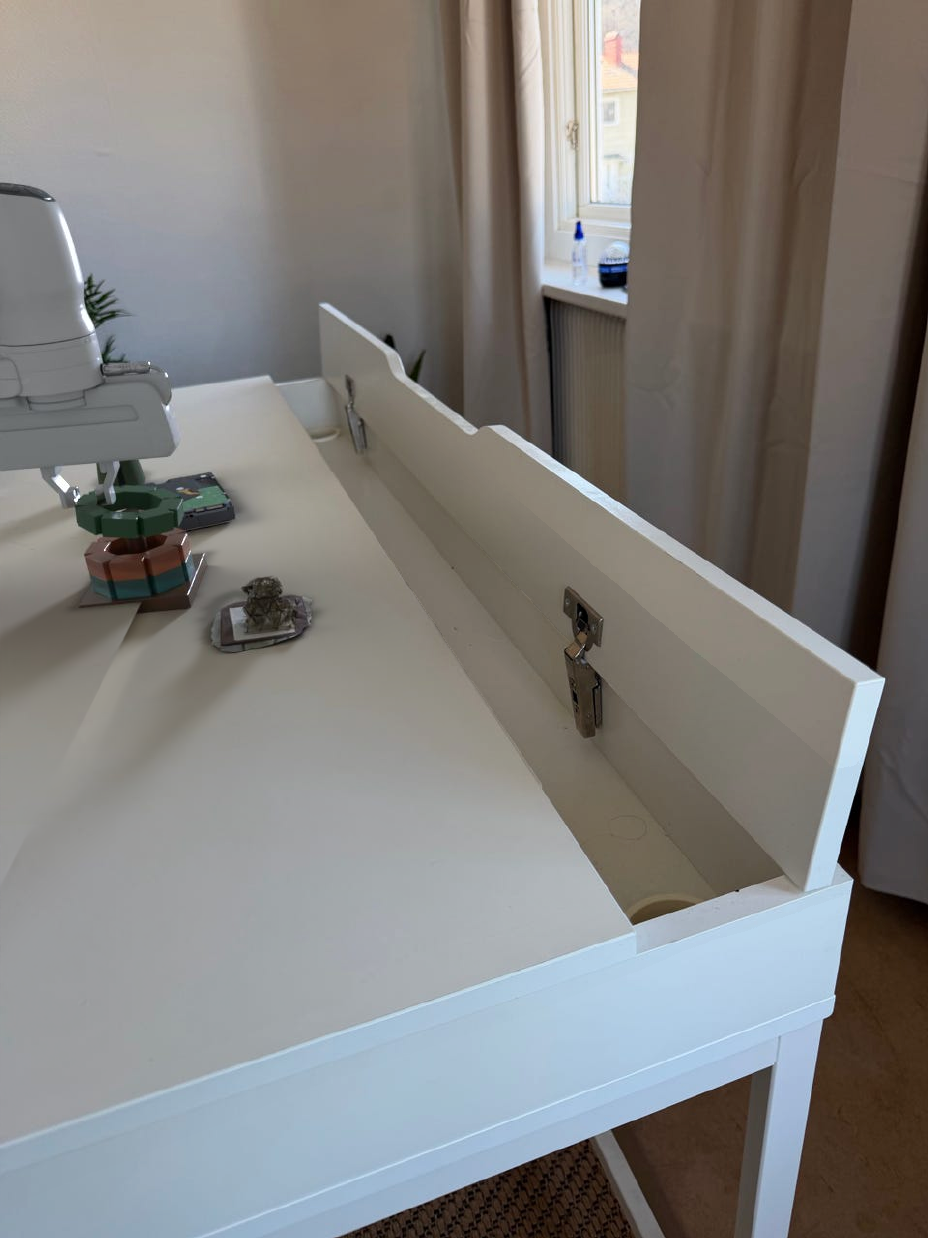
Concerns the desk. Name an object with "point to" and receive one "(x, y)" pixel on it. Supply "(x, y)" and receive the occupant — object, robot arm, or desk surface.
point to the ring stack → (144, 571)
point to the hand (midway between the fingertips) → (90, 504)
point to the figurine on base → (260, 617)
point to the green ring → (156, 518)
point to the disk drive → (200, 500)
